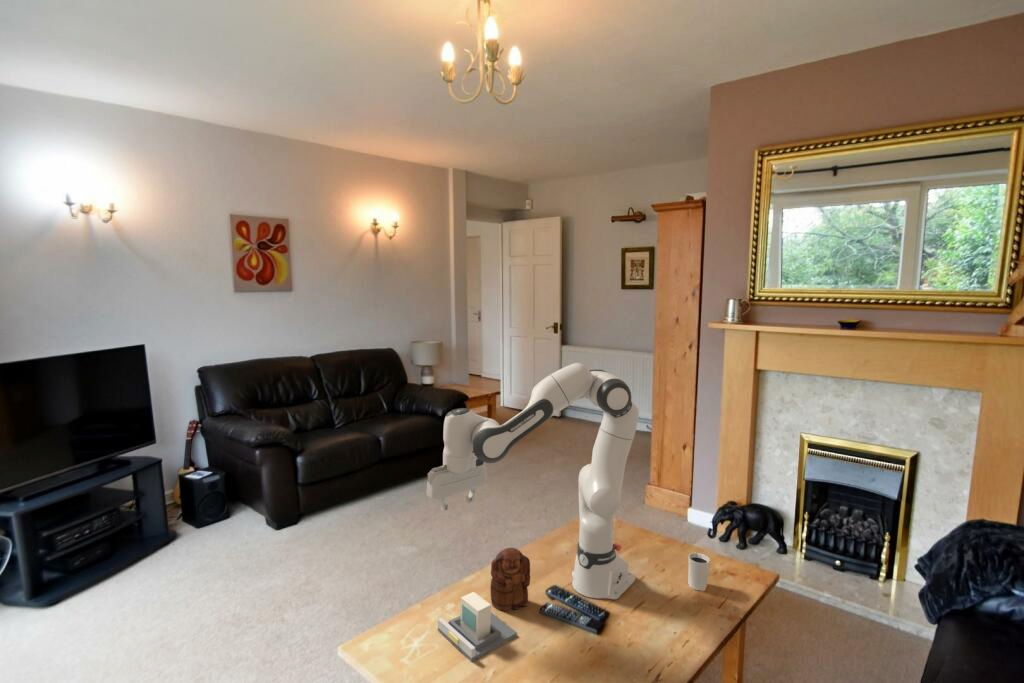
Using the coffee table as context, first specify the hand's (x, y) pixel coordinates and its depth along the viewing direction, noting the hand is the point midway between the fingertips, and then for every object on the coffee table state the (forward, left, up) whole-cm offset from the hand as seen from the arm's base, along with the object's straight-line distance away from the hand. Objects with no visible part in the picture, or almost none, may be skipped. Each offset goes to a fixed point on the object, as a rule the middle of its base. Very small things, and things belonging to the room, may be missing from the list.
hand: (457, 505), depth 160 cm
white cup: (-67, +44, -31) cm, 86 cm away
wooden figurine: (-12, +12, -31) cm, 36 cm away
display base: (+4, +16, -31) cm, 35 cm away
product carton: (+5, +16, -30) cm, 34 cm away
